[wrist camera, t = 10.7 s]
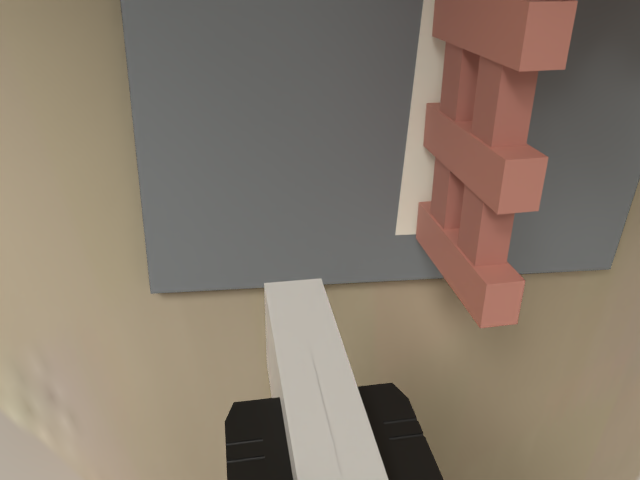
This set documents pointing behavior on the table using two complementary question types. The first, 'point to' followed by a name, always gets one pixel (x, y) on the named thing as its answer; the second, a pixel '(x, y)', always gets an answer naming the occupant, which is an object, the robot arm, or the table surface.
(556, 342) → the table surface
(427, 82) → the card
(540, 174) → the fence gate
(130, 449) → the table surface
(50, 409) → the table surface
